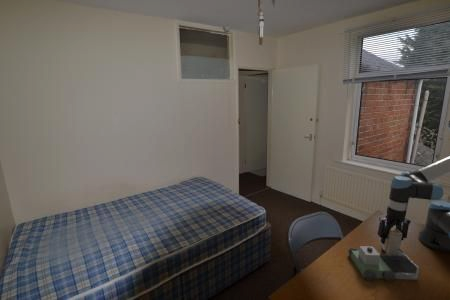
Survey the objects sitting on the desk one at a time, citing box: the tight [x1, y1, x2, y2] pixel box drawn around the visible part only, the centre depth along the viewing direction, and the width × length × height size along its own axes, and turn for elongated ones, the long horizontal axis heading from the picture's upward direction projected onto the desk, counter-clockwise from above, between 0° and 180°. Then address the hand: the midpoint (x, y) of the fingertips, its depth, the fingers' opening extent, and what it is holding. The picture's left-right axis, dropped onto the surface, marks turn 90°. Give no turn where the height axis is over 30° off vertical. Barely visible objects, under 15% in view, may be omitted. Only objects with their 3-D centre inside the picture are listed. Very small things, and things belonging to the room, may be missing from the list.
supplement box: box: [380, 223, 402, 254], centre depth 116 cm, size 8×5×13 cm, turn 169°
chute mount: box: [379, 247, 420, 281], centre depth 105 cm, size 11×13×6 cm
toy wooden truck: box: [347, 245, 396, 282], centre depth 106 cm, size 12×16×10 cm
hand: (389, 249), depth 117 cm, fingers closed on supplement box, 5 cm apart
